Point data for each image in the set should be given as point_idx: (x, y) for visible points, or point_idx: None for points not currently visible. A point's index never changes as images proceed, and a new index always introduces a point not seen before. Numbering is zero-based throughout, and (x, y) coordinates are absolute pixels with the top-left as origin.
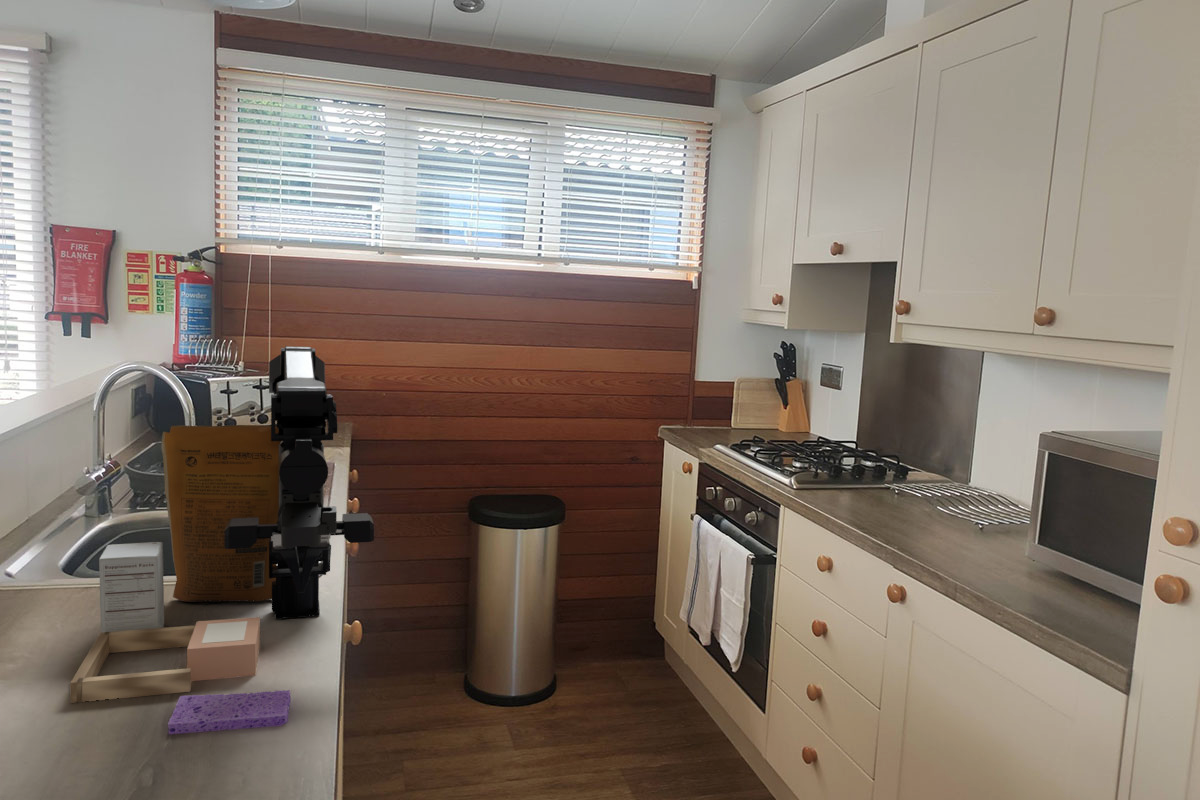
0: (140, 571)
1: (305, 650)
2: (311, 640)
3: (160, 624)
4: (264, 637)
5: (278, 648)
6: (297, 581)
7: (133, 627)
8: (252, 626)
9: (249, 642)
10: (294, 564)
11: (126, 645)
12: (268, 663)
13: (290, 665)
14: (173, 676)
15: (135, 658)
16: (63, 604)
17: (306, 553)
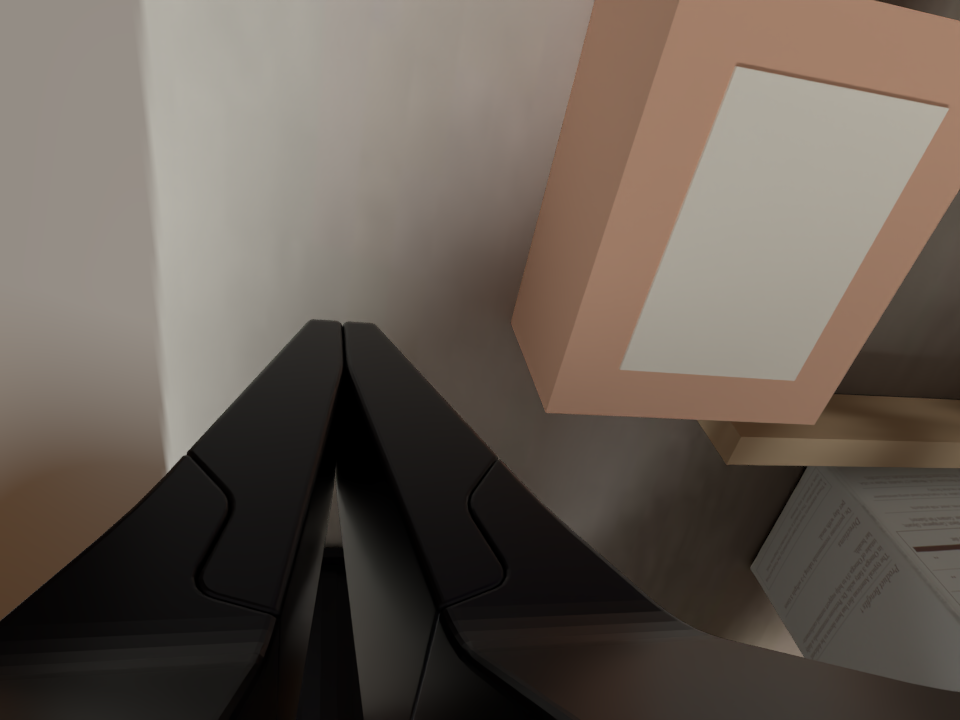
0: None
1: (307, 204)
2: (270, 321)
3: (830, 511)
4: (475, 404)
5: (436, 272)
6: (390, 377)
7: (928, 490)
8: (615, 292)
9: (717, 7)
10: (470, 531)
11: (943, 413)
12: (513, 92)
13: (406, 10)
14: None
15: (935, 335)
16: None
17: (227, 708)
